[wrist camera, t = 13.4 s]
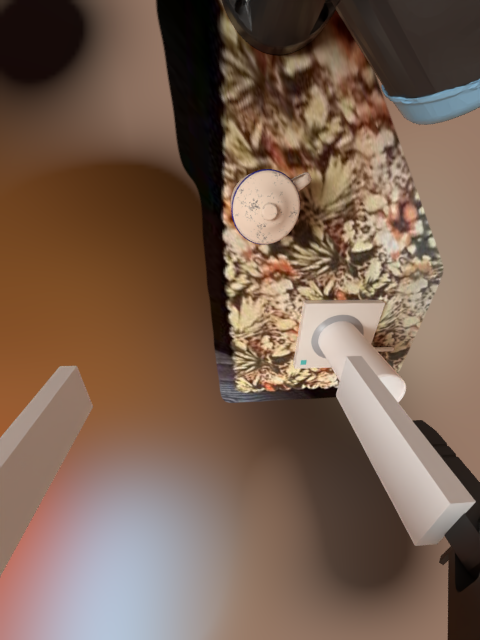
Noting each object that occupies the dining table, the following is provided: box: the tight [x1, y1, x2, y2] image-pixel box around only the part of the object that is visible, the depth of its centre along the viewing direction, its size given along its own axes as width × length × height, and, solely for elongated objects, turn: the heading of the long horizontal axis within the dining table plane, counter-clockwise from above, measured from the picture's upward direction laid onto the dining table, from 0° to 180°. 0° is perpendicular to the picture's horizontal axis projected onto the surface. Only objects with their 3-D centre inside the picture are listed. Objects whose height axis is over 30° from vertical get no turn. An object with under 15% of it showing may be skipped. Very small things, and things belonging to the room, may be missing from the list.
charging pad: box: [293, 300, 394, 368], centre depth 54 cm, size 16×22×2 cm
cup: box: [318, 321, 406, 402], centre depth 46 cm, size 8×8×16 cm
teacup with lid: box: [231, 169, 312, 244], centre depth 35 cm, size 12×9×12 cm
